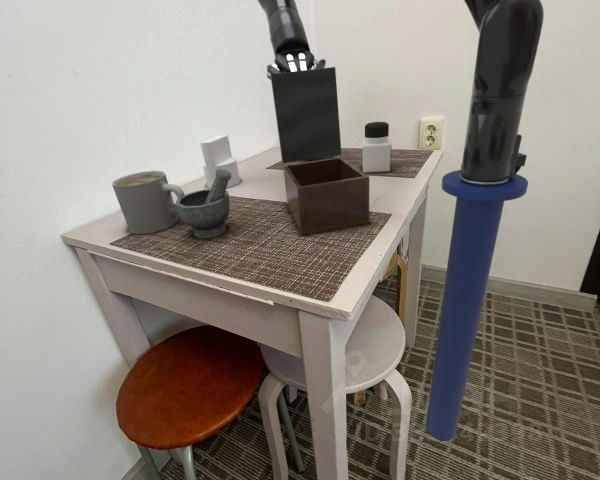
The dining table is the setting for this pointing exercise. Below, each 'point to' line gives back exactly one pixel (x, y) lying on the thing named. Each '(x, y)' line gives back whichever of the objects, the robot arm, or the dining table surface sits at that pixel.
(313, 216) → the open box
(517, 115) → the robot arm
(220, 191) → the mortar and pestle
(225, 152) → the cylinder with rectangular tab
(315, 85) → the dark grey box lid
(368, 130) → the medicine bottle
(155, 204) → the coffee mug
